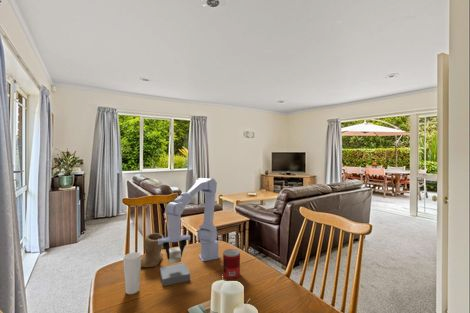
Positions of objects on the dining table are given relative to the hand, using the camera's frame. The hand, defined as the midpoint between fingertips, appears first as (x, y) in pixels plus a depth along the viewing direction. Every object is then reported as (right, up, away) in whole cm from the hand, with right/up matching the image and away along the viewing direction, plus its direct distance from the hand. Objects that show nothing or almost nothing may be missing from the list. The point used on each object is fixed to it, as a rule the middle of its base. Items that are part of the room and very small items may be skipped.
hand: (174, 257), depth 111 cm
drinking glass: (-15, -10, -12) cm, 21 cm away
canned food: (+27, -9, +2) cm, 28 cm away
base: (0, -9, 0) cm, 9 cm away
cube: (0, -2, 0) cm, 2 cm away
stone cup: (-15, -9, +15) cm, 24 cm away
